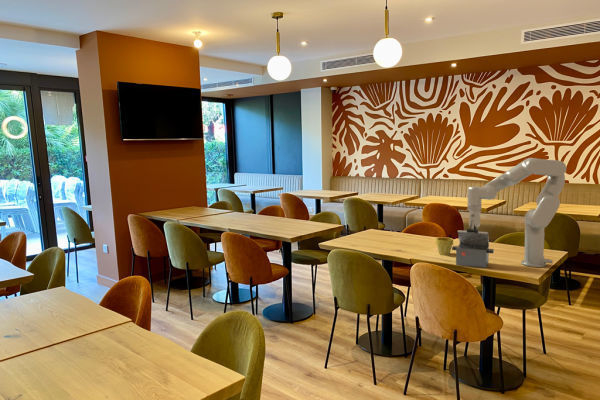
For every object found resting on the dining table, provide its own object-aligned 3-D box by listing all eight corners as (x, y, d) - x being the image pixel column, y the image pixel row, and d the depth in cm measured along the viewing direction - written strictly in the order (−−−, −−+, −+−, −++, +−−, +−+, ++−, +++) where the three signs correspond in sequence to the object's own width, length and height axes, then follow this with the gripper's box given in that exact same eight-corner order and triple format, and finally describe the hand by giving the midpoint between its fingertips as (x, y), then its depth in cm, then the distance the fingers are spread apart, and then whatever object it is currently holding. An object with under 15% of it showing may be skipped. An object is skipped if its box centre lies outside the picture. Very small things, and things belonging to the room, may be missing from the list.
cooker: (494, 263, 251) (494, 246, 250) (491, 268, 240) (492, 251, 239) (454, 259, 262) (454, 243, 260) (450, 264, 251) (450, 247, 250)
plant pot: (454, 256, 270) (454, 240, 269) (436, 255, 272) (437, 240, 271) (451, 252, 280) (452, 237, 279) (435, 251, 282) (435, 237, 281)
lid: (488, 246, 251) (489, 241, 253) (487, 231, 242) (487, 227, 244) (459, 243, 259) (460, 239, 261) (457, 229, 250) (458, 225, 251)
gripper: (479, 209, 243) (478, 241, 245) (483, 206, 256) (482, 236, 258) (465, 209, 247) (464, 240, 249) (469, 205, 259) (469, 235, 262)
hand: (473, 238), depth 253 cm, fingers closed
